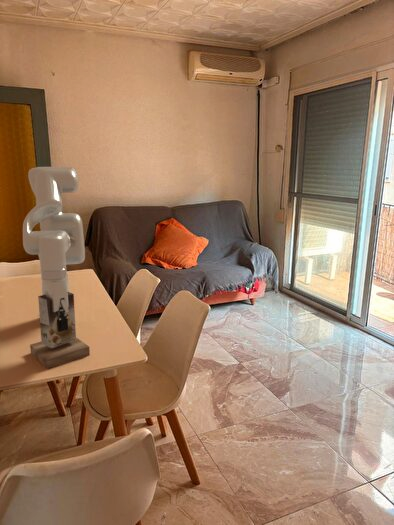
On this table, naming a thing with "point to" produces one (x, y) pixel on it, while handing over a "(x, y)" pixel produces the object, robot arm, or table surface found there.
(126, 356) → the table surface
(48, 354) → the brownish grey square block
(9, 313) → the table surface
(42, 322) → the coffee box
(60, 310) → the robot arm
